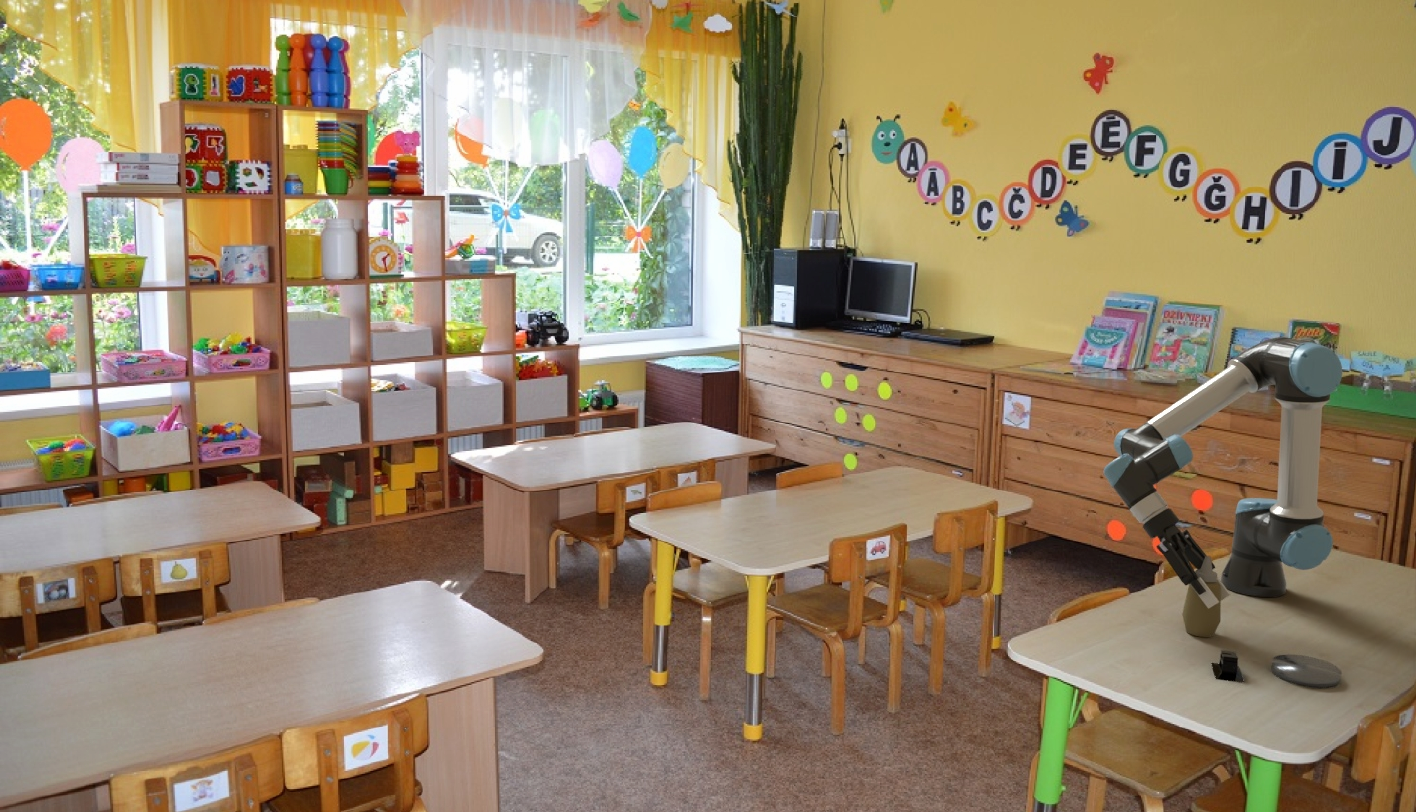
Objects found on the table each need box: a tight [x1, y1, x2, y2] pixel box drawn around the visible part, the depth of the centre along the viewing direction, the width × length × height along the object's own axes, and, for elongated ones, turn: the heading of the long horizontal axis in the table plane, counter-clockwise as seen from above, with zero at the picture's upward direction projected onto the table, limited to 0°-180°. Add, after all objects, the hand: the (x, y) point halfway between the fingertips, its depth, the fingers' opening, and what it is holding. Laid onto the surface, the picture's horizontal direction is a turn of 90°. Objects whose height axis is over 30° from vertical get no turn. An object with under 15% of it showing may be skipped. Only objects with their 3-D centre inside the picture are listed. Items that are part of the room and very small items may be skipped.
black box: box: [1210, 649, 1245, 683], centre depth 251 cm, size 12×7×5 cm, turn 163°
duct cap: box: [1270, 653, 1343, 689], centre depth 250 cm, size 13×13×2 cm
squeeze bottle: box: [1181, 555, 1222, 638], centre depth 272 cm, size 8×8×18 cm
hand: (1219, 601), depth 269 cm, fingers closed on squeeze bottle, 6 cm apart
